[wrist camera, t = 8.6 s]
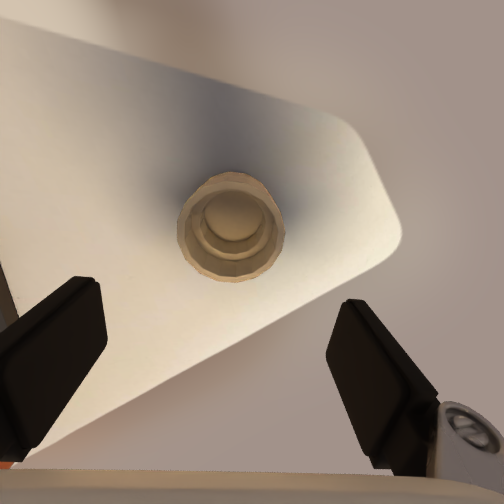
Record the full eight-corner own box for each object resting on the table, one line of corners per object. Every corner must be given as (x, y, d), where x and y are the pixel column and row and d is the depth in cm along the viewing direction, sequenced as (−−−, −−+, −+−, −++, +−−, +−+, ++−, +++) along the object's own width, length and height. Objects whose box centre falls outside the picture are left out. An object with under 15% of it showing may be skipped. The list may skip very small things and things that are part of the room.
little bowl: (194, 166, 20) (176, 175, 15) (280, 177, 21) (293, 189, 15) (192, 246, 23) (177, 278, 18) (267, 253, 24) (274, 286, 18)
